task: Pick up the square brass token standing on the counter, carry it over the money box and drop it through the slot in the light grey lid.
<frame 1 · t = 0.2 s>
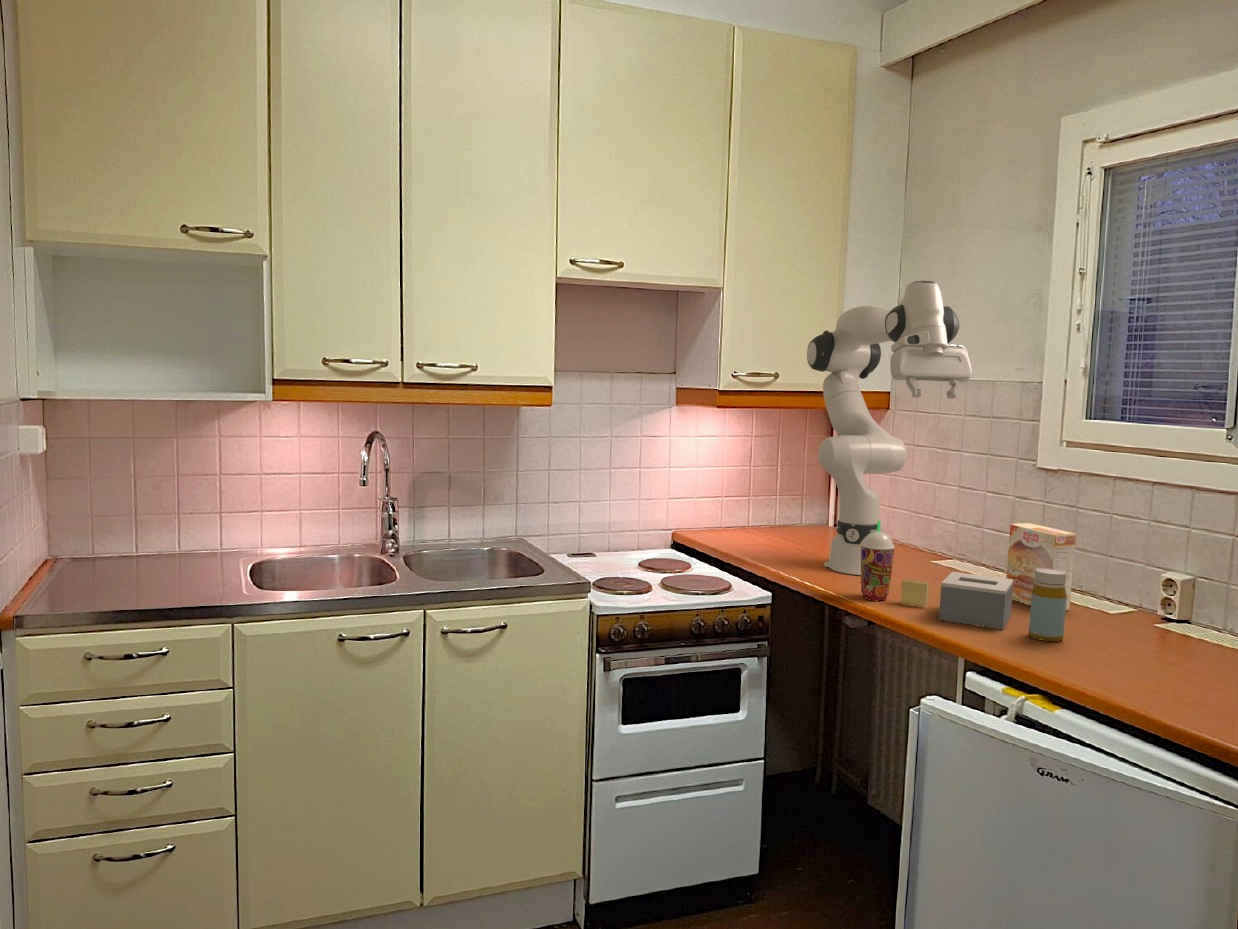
hand: (934, 397, 231), 51 cm above the countertop, tool tilted 20°, fingers open, 8 cm apart
coffeecake box: (1036, 604, 240), on the countertop
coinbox: (975, 618, 224), on the countertop
bottle: (1045, 638, 210), on the countertop
smoothie: (874, 599, 241), on the countertop
token: (914, 605, 235), on the countertop
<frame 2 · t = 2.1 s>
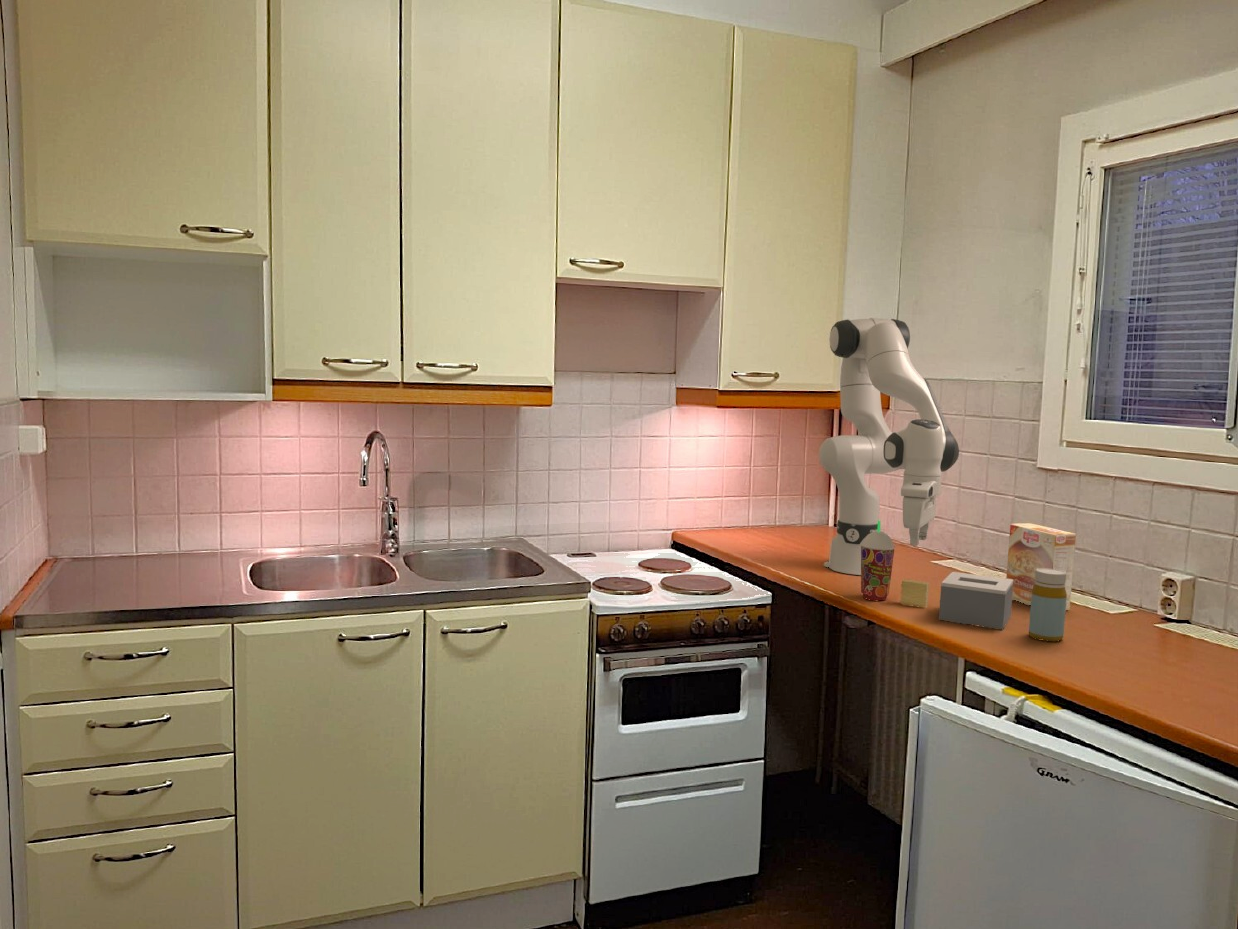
hand: (918, 542, 233), 16 cm above the countertop, tool pointing down, fingers open, 8 cm apart
nothing on the countertop moved.
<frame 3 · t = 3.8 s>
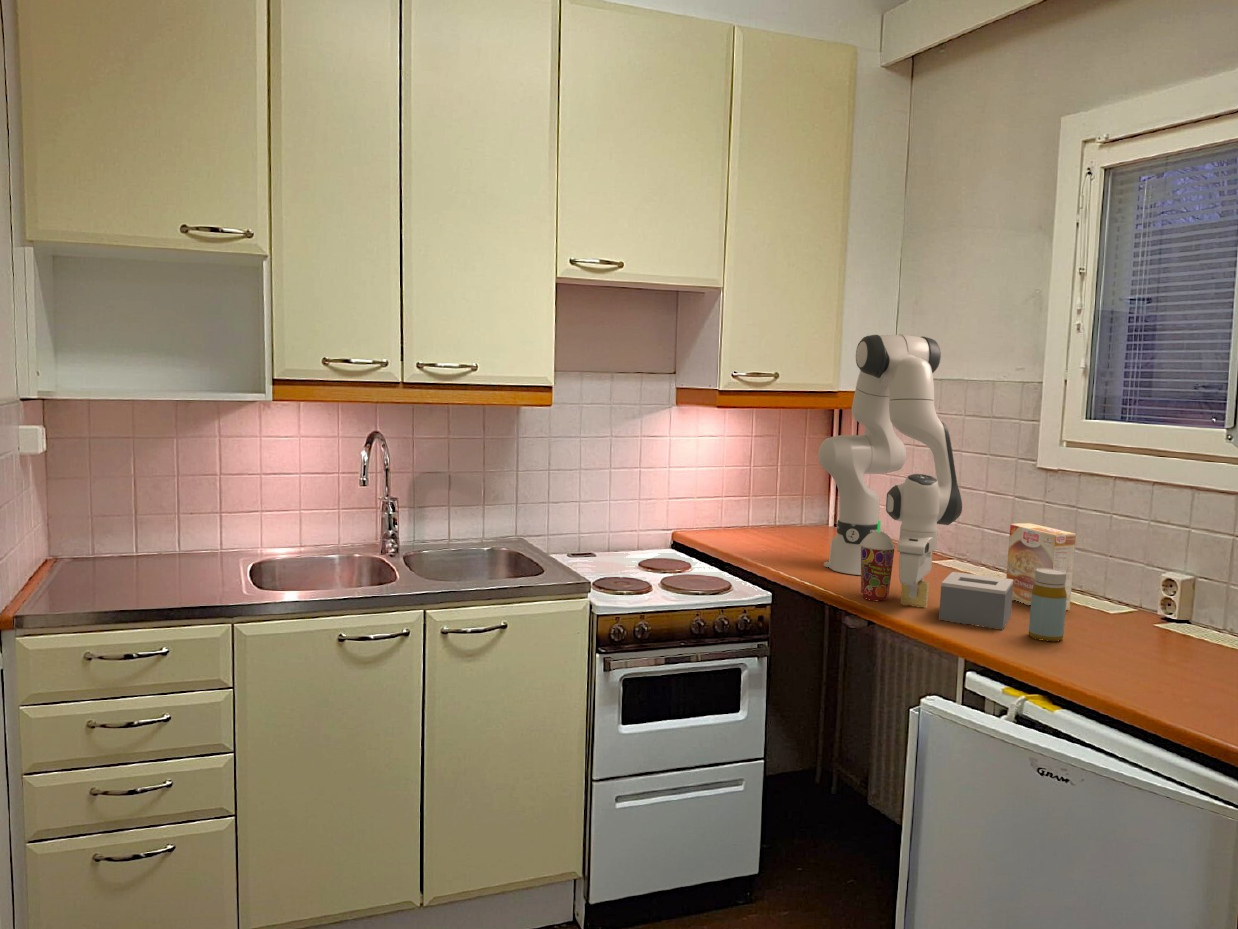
hand: (914, 596, 235), 2 cm above the countertop, tool pointing down, fingers closed on token, 2 cm apart
token: (914, 605, 235), on the countertop, touching gripper
everything else where it was.
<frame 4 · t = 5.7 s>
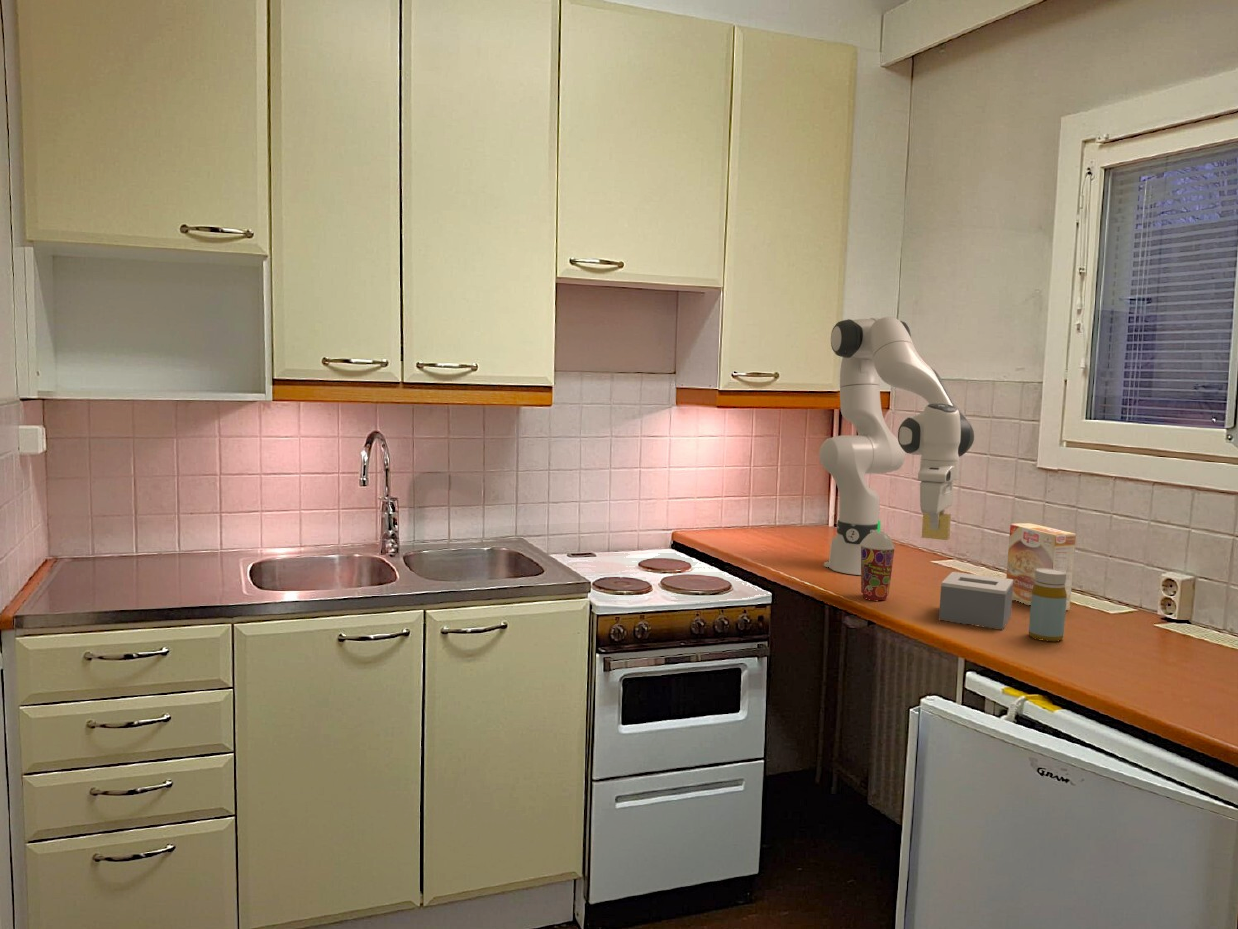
hand: (936, 528, 229), 20 cm above the countertop, tool pointing down, fingers closed on token, 2 cm apart
token: (935, 538, 230), point 18 cm above the countertop, touching gripper
everything else where it was.
when the fingers open (12 cm above the countertop, at t = 7.5 s): token drops 9 cm, resting on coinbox.
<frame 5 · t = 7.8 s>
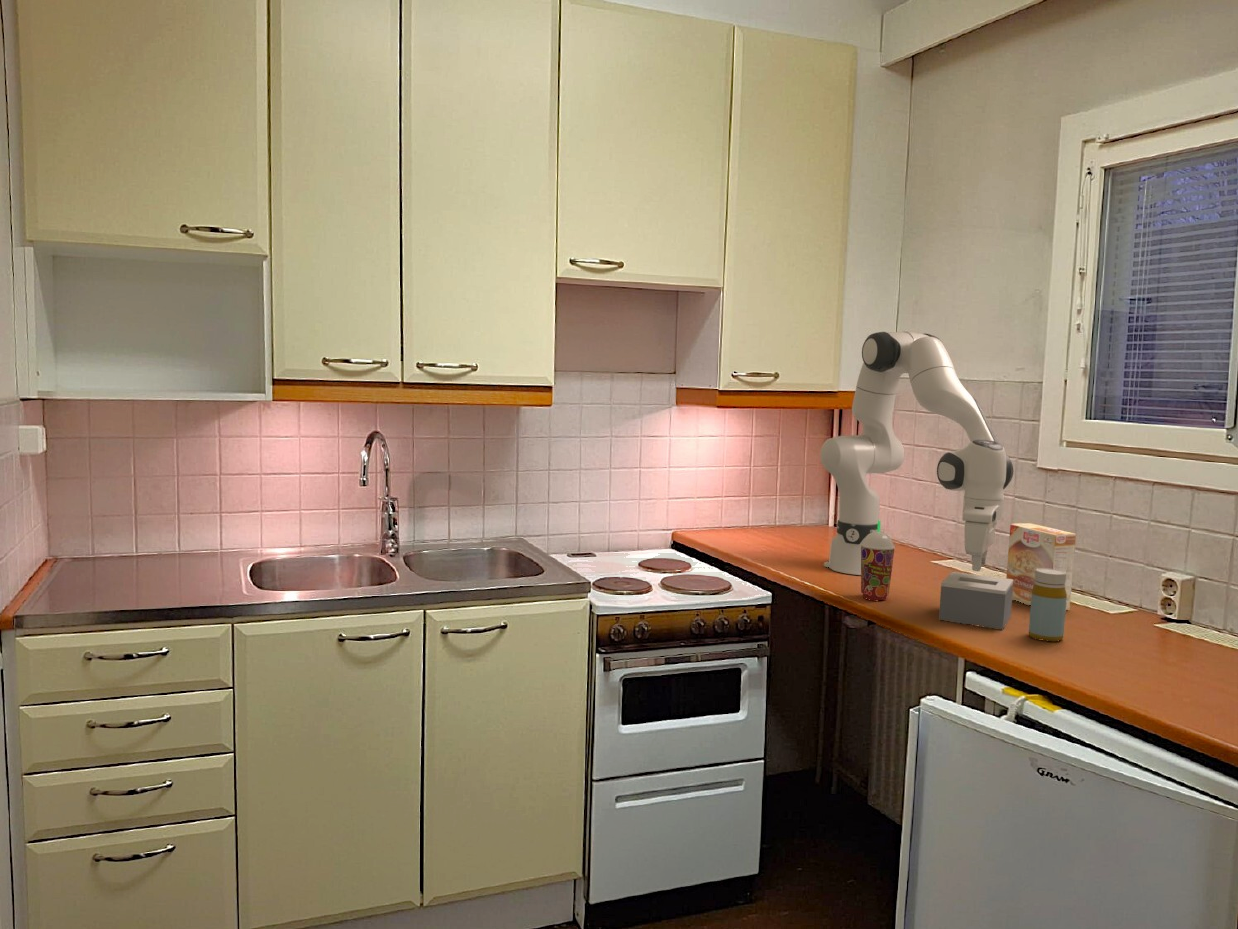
hand: (978, 568, 223), 12 cm above the countertop, tool pointing down, fingers open, 5 cm apart
token: (975, 615, 224), point 1 cm above the countertop, touching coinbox
everything else where it was.
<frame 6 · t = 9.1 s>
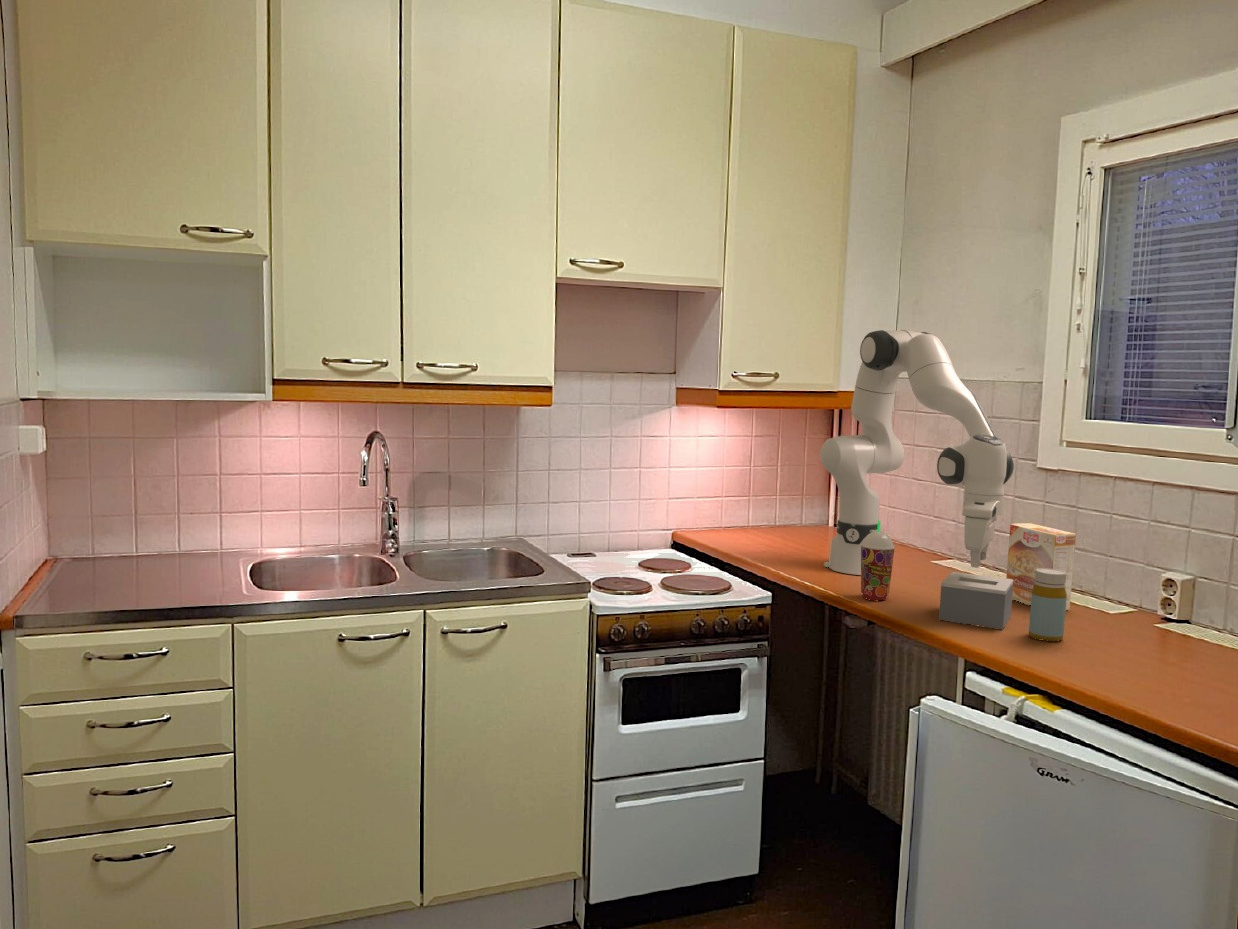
hand: (978, 563, 223), 13 cm above the countertop, tool pointing down, fingers open, 8 cm apart
nothing on the countertop moved.
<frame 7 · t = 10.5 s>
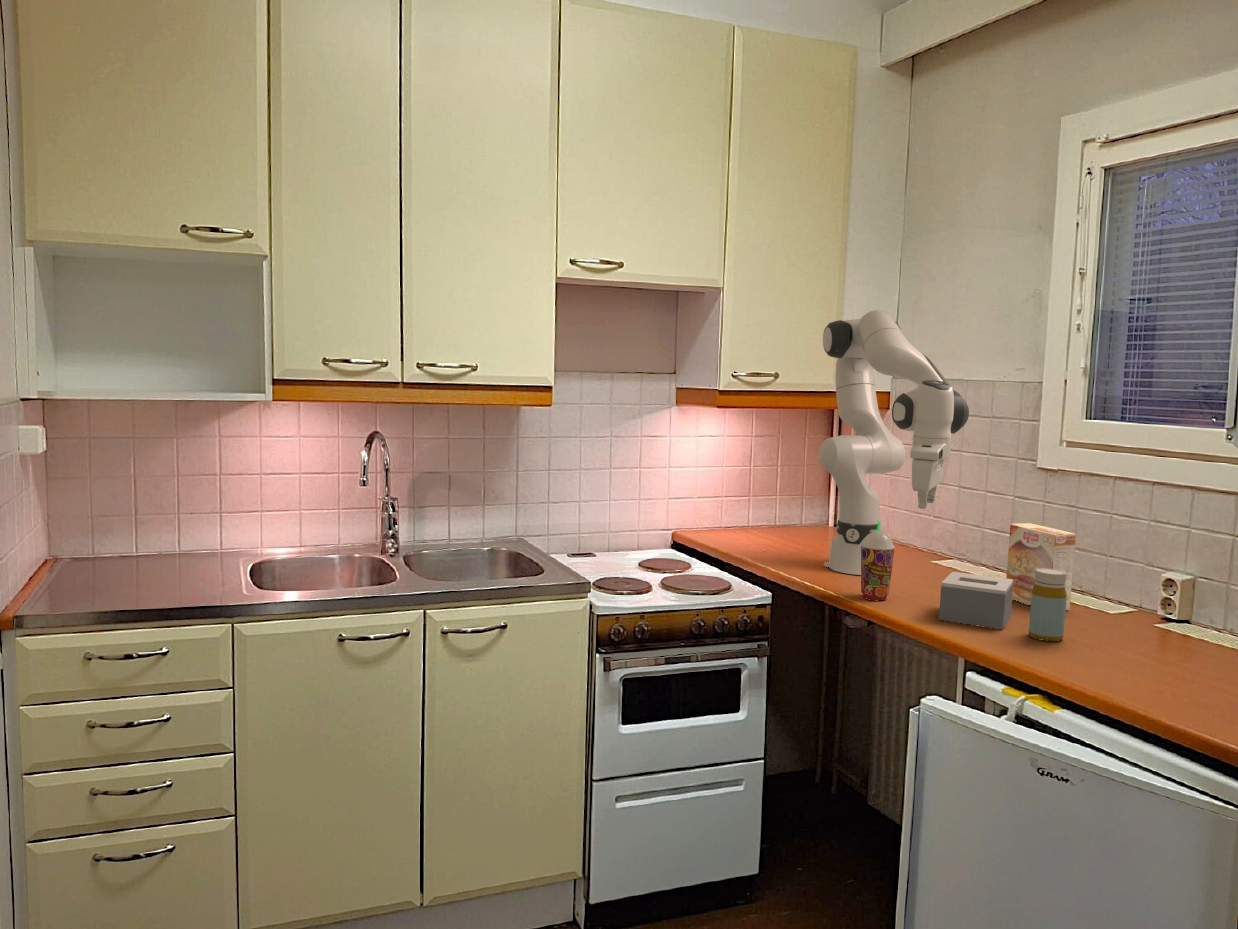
hand: (926, 505, 229), 25 cm above the countertop, tool pointing down, fingers open, 8 cm apart
nothing on the countertop moved.
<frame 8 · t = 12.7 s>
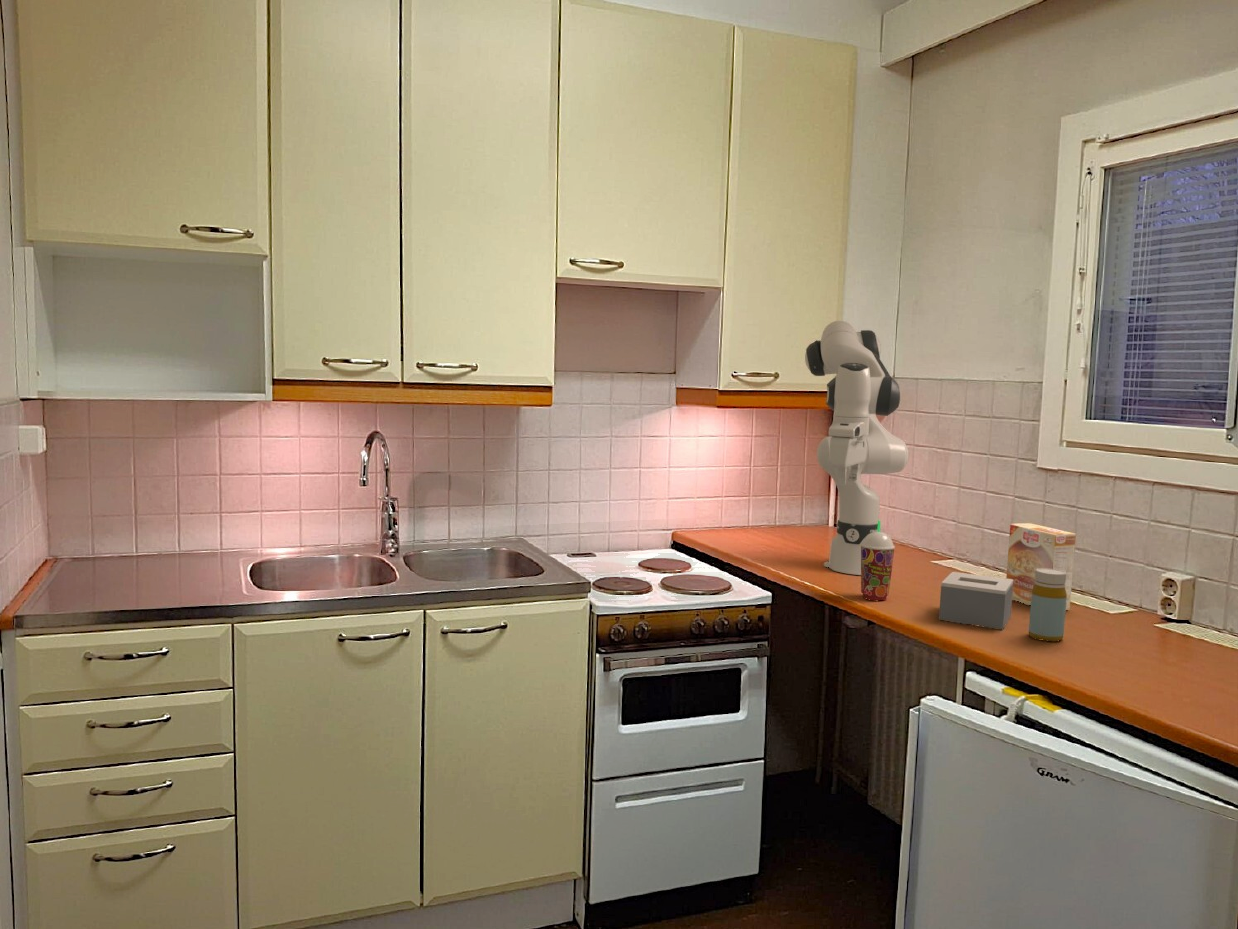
hand: (847, 482, 240), 29 cm above the countertop, tool pointing down, fingers open, 8 cm apart
nothing on the countertop moved.
at the end: token inside the target area on the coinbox (0.0 cm from its centre), point 0.8 cm above the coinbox's base; the gripper is holding nothing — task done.
